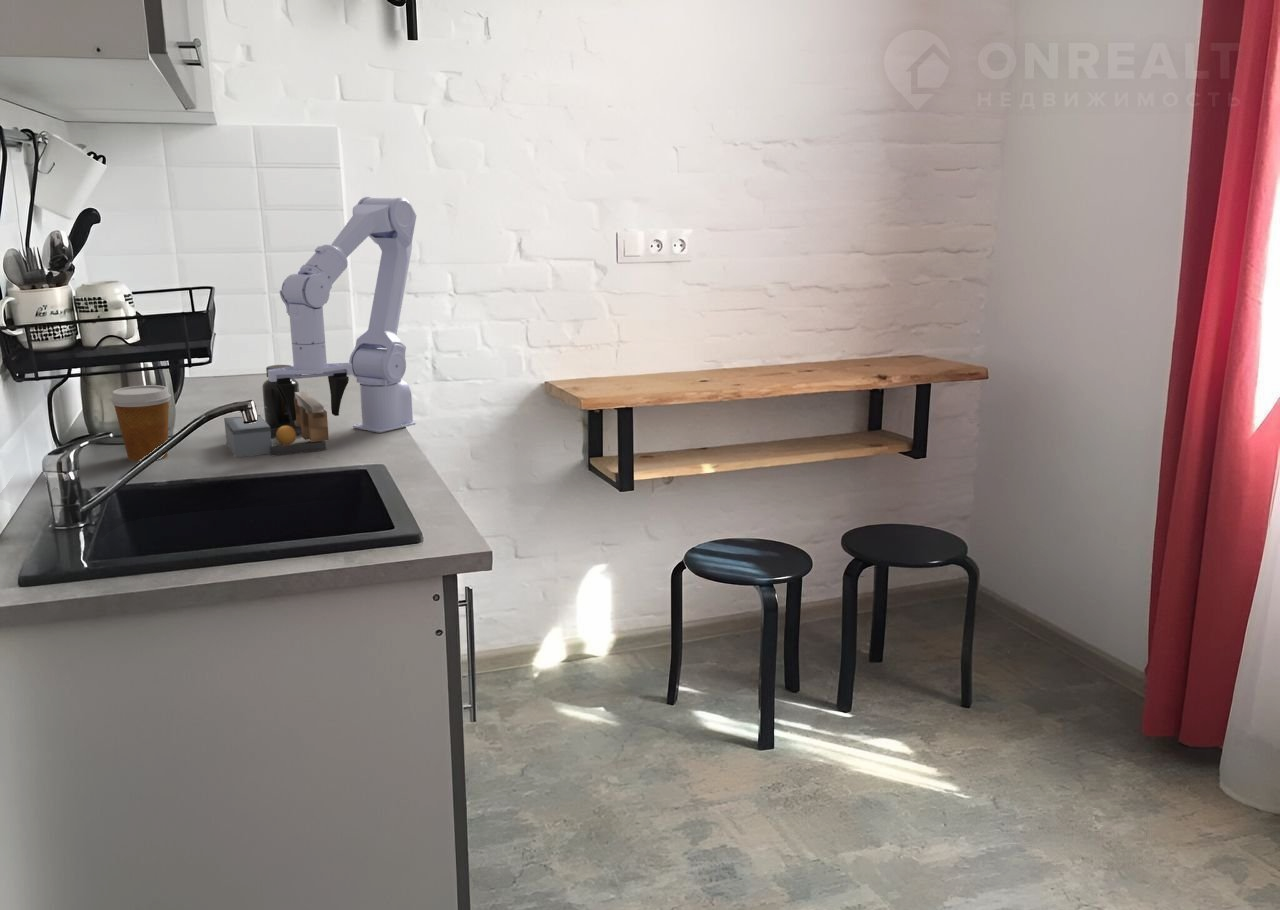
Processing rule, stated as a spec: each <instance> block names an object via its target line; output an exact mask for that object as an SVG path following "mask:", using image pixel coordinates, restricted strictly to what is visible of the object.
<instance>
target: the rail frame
mask: <svg viewBox="0 0 1280 910" xmlns="http://www.w3.org/2000/svg"><path fill="white" fill-rule="evenodd" d="M292 428H293V429H294V430H295V432H296V436H302V434H301V426H295V427H292ZM278 429H279V428H275V429H270V430H271V439H275V438H276V432H277V430H278ZM276 439H277V438H276ZM326 450H327V440H326V441H316V442H311V441H306V442H305V441H304V442H297V443H291V444H286V445H284V444H278V445H272V446H270V454H269V455H270V457H274V456H282V455H291V454H292V455H293V454H300V453H311V452H317V451H318V452H319V451H326Z"/></svg>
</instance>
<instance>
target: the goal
mask: <svg viewBox="0 0 1280 910" xmlns="http://www.w3.org/2000/svg"><path fill="white" fill-rule="evenodd" d="M257 415H258V421H257V422H256V423H252V424H244V423H243V421H242V417H241V416H233V417H224V421H223V422H224V432H225V440H226V441H225V442H226V445H227V446H228V448H229V450H230V452H232V454H233V456H234V458H242V457H251V456H260V455H270V446H273V444H272V443H273V442H272V438H271V430H270V426H269V425H268V424H267V423H266V422H265V418H263V417H262V416H261V414H257Z"/></svg>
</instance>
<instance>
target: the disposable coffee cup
mask: <svg viewBox="0 0 1280 910" xmlns="http://www.w3.org/2000/svg"><path fill="white" fill-rule="evenodd" d="M111 396H112V397H110V402H111V403H112V405H113V406H114V408H115V409H114V410H115V414H116V417H117V421H118V425H119V430H120V433H121V435H122V440H123V444H124V447H125V451H126V455H127V460H129V461H131V462H135V463H136V462H137V461H139V460H140V459H142V458H143V457H144V456H146V455H148V454H149V453H150V452H152V451H153V450H154V449H155V448H157V447H158V446H160V445H161V444H163V443H164V442H165V441H166V440H168V441H169V411H170V410H169V408H170V407H169V406H170V405H169V404H170V400H171V397H172V394H171V393H170V392H169V388H168V387H167V386H164V385H156V384H155V385H151V384H150V385H149V384H148V385H144V384H143V385H132V386H126V387H121V388H118V389H115V390H112V395H111ZM168 456H169V454H168V453H166V454H165V455H164V456H163V457H162V458H161V459H160V460H162V459H164V458H165V459H166V458H168Z"/></svg>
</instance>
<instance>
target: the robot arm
mask: <svg viewBox="0 0 1280 910" xmlns="http://www.w3.org/2000/svg"><path fill="white" fill-rule="evenodd" d="M416 221H417V214H416V212H415V210H414V208H413V205H412V204H411V202H410V201H409V200H408V199H407V198H405V197H402V196H400V197H369V196H365V197H362V198H361V199H359V201H358V202H357V204H356V205H354V206H353V208H352V216H351V217H350V218H349V220H348V222H347V223H346V224H345V225H344V227H343V229H341V231H340V232H339V234H338V235H337V236H336V238H335V239H334V241H333V242H332V244H323V245H320V246H317V247H316V248H315V249H314V253H313V255H312V256H311V257H310V258H309V259H308V260H307V261H306V263H305V264H303V265H302V266H301V267H300V268H299V269H300V270H299V271H298V272H297V273H292V274H289V275H288V276H287V277H286V278H285V279H284V280H283V282H282V284H281V290H279V295H280V296H279V297H280V299H281V301H282V302H283V303H284V304H285V308H286V314H287V315H288V316H289V326H290V327H289V328H290V337H291V338H290V339H291V349H292V364H293V366H292V365H290V366H291V367H285V368H278V369H270V370H268V377H267V380H269V381H270V382H274V384H275V386H276V387H277V389H278V391H279V392H280V394H281V396H282V398H283V400H284V403H285V405H286V408H287V411H288V415H289V419H290V420H292V421H294V420H296V411H295V404H294V385H293V384H292V381H290V379H295V380H298V379H311V378H322V377H327V380H328V386H329V391H330V392H329V393H330V408H331V409H330V410H331V411H330V412H331V414H332V415H333V416H335V417H337V416H340V408H341V402H342V398H343V395H344V394H345V391H346V388H347V386H348V384H349V379H350V378H349V376H351V375H352V376H354V378H356V383H359V391H360V392H359V393H360V407H361V408H360V409H361V423H356V424H352V428H354V429H357V430H358V429H359V430H363V431H368V432H373V433H377V434H378V433H379V434H380V433H385V432H389V431H394V430H398V429H402V428H407V427H410V426H415V425H416V424H417V423H416V421H414V419H413V417H414V416H413V397H412V391H411V388H410V386H409V384H408V382H406V381H405V380H403V377H404V375H405V373H406V368H407V361H406V350H407V346H406V345H405V344H404V342H402V340H401V339H400V338H399V337H398V336H397V334H398V329H399V324H400V323H399V322H400V317H401V312H402V308H403V307H402V305H403V300H404V294H405V289H406V284H407V278H408V272H409V267H410V260H411V256H412V248H413V244H412V243H413V238H414V232H415V226H416ZM368 237H369V238H370V239H371V240H372V241H373V242H374V244H376V245H378V247H379V248H380V250H381V255H380V256H381V257H380V260H379V266H378V272H377V278H376V284H375V289H374V294H373V301H372V306H371V310H370V311H371V312H370V317H369V321H368V322H369V323H368V328H367V330H366V331H365V332H364V333H363V334H360V336H359V337H358V338H357V339H356V340H355V346H354V348H353V350H352V352H351V354H350V356H349V361H348V362H337V363H334V362H333V363H327V350H326V348H327V347H326V335H325V332H326V331H325V321H324V319H325V318H324V308H323V307H324V306H325V304H327V303H328V301H329V299H330V294H331V293H330V292H331V289H332V288H333V284H334V283H335V282H336V281H337V280H338V279H339V277H341V276H342V274H343V273H344V272H345V270H346V269H347V267H348V259H347V258H348V257H349V256H350V255H351V254H352V253H353V252H354V251H355V250H356V249H357V248H359V246H360V245H361V244H362V243H363V242H364V241H366V240H367V239H368ZM401 424H402V425H403V427H402V425H401Z"/></svg>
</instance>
